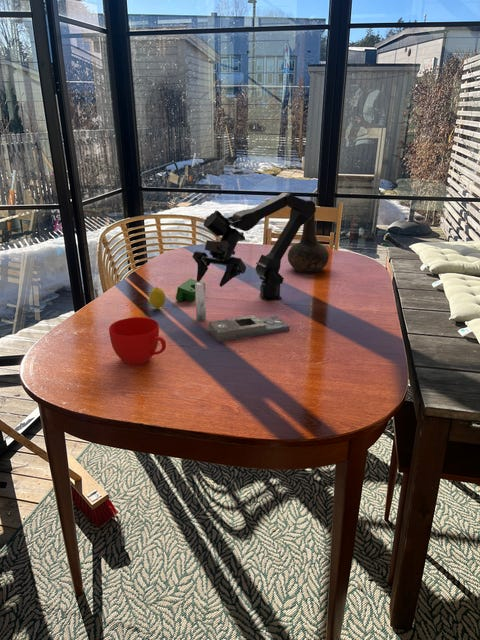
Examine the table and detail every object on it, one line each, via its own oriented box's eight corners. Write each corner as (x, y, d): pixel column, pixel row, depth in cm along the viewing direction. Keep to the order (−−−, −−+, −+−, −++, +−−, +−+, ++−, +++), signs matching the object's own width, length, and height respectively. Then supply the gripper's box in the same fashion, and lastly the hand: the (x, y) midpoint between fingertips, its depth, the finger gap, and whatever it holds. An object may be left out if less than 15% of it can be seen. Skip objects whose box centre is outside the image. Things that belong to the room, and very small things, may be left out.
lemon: (169, 307, 166) (167, 286, 163) (160, 312, 161) (158, 290, 158) (155, 305, 168) (154, 283, 165) (146, 310, 164) (145, 288, 161)
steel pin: (204, 317, 158) (203, 281, 153) (207, 320, 155) (206, 284, 150) (195, 318, 157) (193, 282, 152) (198, 322, 154) (196, 285, 149)
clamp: (190, 312, 174) (190, 295, 167) (175, 307, 175) (175, 290, 168) (204, 292, 182) (205, 275, 175) (190, 287, 183) (190, 269, 176)
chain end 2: (276, 320, 156) (276, 315, 155) (289, 330, 148) (289, 325, 147) (225, 328, 149) (225, 323, 149) (235, 339, 142) (235, 333, 141)
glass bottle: (333, 268, 213) (338, 205, 203) (317, 278, 200) (322, 211, 189) (297, 263, 222) (301, 202, 212) (280, 271, 208) (282, 207, 198)
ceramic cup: (149, 380, 118) (146, 343, 115) (102, 363, 127) (98, 329, 123) (181, 360, 129) (180, 326, 125) (136, 345, 137) (133, 313, 133)
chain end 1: (254, 323, 153) (254, 314, 152) (266, 334, 145) (266, 324, 144) (208, 330, 147) (208, 321, 146) (218, 341, 140) (218, 331, 139)
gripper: (194, 227, 158) (174, 266, 154) (241, 233, 149) (222, 275, 144) (208, 246, 167) (190, 283, 163) (254, 253, 158) (236, 293, 153)
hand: (208, 283), depth 156 cm, fingers open, 9 cm apart
